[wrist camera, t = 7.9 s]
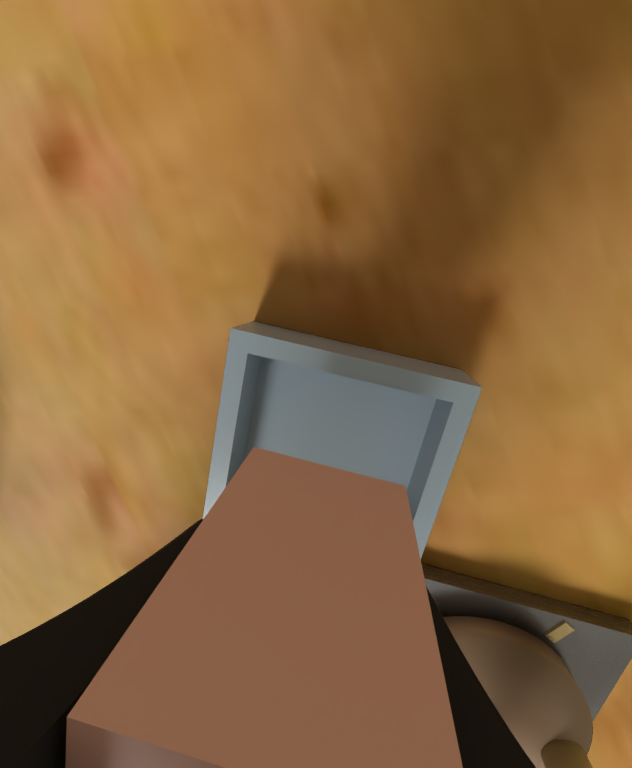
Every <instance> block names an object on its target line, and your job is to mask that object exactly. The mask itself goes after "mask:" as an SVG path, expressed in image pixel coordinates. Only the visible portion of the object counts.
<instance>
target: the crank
mask: <svg viewBox="0 0 632 768" xmlns="http://www.w3.org/2000/svg"><path fill="white" fill-rule="evenodd" d="M443 618H444V620H445V622H446V624H447V625H448V627H449V629H450V631H451V633H452V635H453V636H454V638H455V640H456V642H457V644H458V645H459V647H460V649H461V651H462V652H463V654H464V656H465V657H466V659H467V661H468V663H469V664H470V666H471V668H472V669H473V671H474V673H475V675H476V676H477V678H478V680H479V681H480V683H481V685H482V686H483V688H484V690H485V691H486V693H487V695H488V696H489V698H490V699H491V701H492V703H493V704H494V706H495V707H496V709H497V710H498V712H499V713H500V715H501V717H502V718H503V720H504V721H505V723H506V724H507V726H508V728H509V729H510V731H511V732H512V734H513V735H514V737H515V738H516V740H517V741H518V742H519V744H520V745H521V747H522V748H523V750H524V751H525V753H526V754H527V756H528V757H529V758H530V760H531V761H532V763H533V764H534V765H535V767H536V768H592V766H591V764H590V762H589V760H588V757H587V754H588V752H589V749H590V745H591V742H592V735H593V723H592V716H591V713H590V709H589V706H588V704H587V702H586V700H585V698H584V696H583V694H582V692H581V690H580V688H579V687H578V685H577V683H576V681H575V679H574V677H573V675H572V673H571V672H570V670H569V668H568V667H567V665H566V664H565V663H564V661H563V660H562V658H561V657H560V656H559V655H558V654H557V653H556V652H555V651H554V650H553V649H552V648H551V647H549V646H548V645H547V644H545V643H544V642H543V641H542V640H540V639H538V638H537V637H535V636H533V635H532V634H530V633H528V632H526V631H524V630H522V629H520V628H518V627H515V626H512V625H509V624H506V623H503V622H500V621H496V620H491V619H487V618H480V617H471V616H450V617H443Z"/></svg>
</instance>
